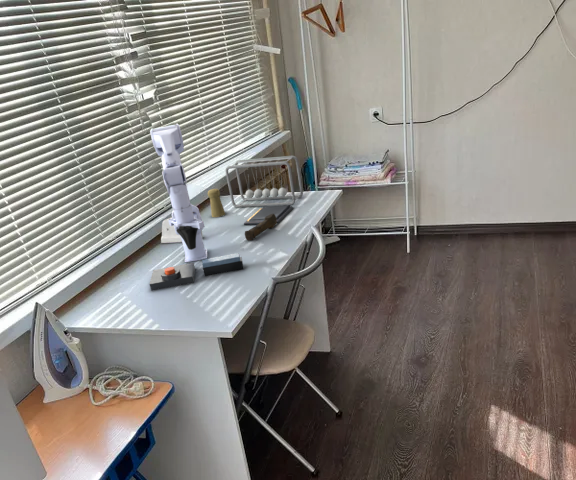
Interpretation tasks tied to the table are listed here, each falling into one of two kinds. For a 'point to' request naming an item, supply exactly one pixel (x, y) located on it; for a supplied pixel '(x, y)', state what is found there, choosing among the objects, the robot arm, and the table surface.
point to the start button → (169, 270)
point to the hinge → (170, 233)
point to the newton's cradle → (265, 192)
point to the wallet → (265, 211)
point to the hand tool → (261, 227)
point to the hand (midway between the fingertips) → (192, 248)
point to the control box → (172, 277)
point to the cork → (216, 203)
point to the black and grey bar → (222, 264)
